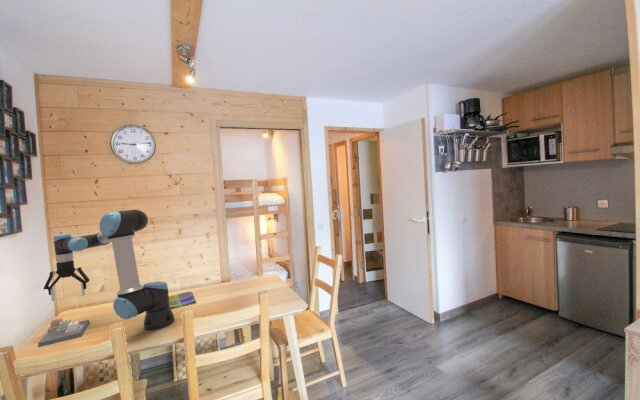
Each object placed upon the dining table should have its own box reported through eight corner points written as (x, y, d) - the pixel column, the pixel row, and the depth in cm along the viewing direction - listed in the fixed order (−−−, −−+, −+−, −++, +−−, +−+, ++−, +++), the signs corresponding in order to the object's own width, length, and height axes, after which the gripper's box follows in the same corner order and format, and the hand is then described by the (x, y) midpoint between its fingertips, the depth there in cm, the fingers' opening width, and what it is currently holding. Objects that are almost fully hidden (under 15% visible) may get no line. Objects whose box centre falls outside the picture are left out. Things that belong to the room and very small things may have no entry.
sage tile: (68, 327, 160) (68, 321, 160) (59, 329, 158) (58, 323, 158) (70, 324, 163) (70, 319, 163) (61, 326, 162) (60, 321, 161)
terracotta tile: (60, 325, 163) (59, 320, 163) (50, 328, 161) (50, 322, 161) (62, 323, 166) (61, 317, 166) (53, 325, 164) (52, 319, 164)
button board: (81, 336, 156) (80, 329, 156) (38, 346, 148) (37, 339, 148) (89, 322, 174) (88, 316, 174) (51, 331, 166) (50, 324, 166)
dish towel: (166, 311, 183) (165, 307, 183) (165, 300, 204) (165, 296, 204) (196, 304, 191) (196, 300, 191) (192, 294, 213) (192, 290, 213)
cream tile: (77, 328, 157) (77, 323, 157) (68, 331, 155) (67, 325, 155) (79, 326, 160) (79, 320, 160) (70, 328, 159) (69, 322, 158)
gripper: (93, 256, 177) (97, 290, 178) (38, 263, 166) (42, 300, 167) (90, 258, 171) (94, 294, 172) (33, 266, 159) (37, 304, 160)
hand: (68, 297), depth 169 cm, fingers open, 13 cm apart
